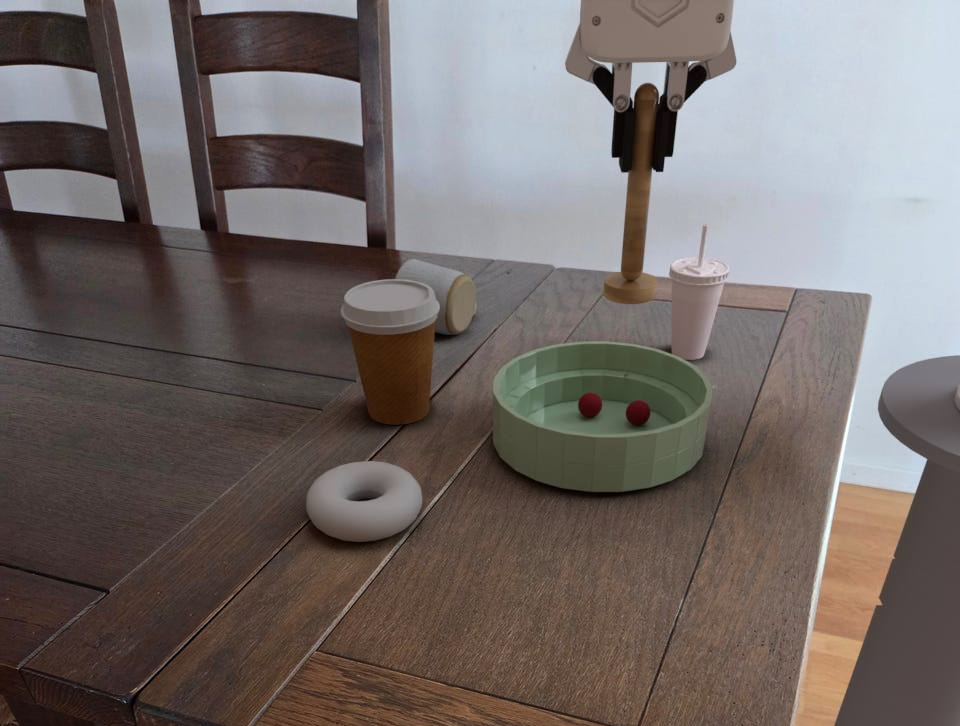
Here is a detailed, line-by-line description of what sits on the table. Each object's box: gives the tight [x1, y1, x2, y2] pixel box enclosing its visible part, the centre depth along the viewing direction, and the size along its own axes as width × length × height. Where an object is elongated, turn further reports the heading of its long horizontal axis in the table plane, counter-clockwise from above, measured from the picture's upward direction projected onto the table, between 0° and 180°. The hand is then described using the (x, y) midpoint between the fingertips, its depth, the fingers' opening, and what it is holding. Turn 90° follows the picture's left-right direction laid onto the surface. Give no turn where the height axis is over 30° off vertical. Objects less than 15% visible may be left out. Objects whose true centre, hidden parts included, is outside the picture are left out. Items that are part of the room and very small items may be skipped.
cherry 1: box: [578, 393, 602, 418], centre depth 89 cm, size 2×2×2 cm
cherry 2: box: [626, 400, 650, 426], centre depth 87 cm, size 2×2×2 cm
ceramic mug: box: [394, 258, 478, 336], centre depth 107 cm, size 11×8×8 cm
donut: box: [305, 460, 424, 543], centre depth 76 cm, size 10×4×10 cm
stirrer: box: [602, 82, 660, 305], centre depth 69 cm, size 4×4×15 cm
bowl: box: [492, 340, 714, 493], centre depth 84 cm, size 20×20×6 cm
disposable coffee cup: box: [340, 278, 440, 426], centre depth 88 cm, size 10×10×12 cm
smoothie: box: [668, 224, 730, 361], centre depth 97 cm, size 6×6×14 cm
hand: (640, 166), depth 68 cm, fingers closed on stirrer
